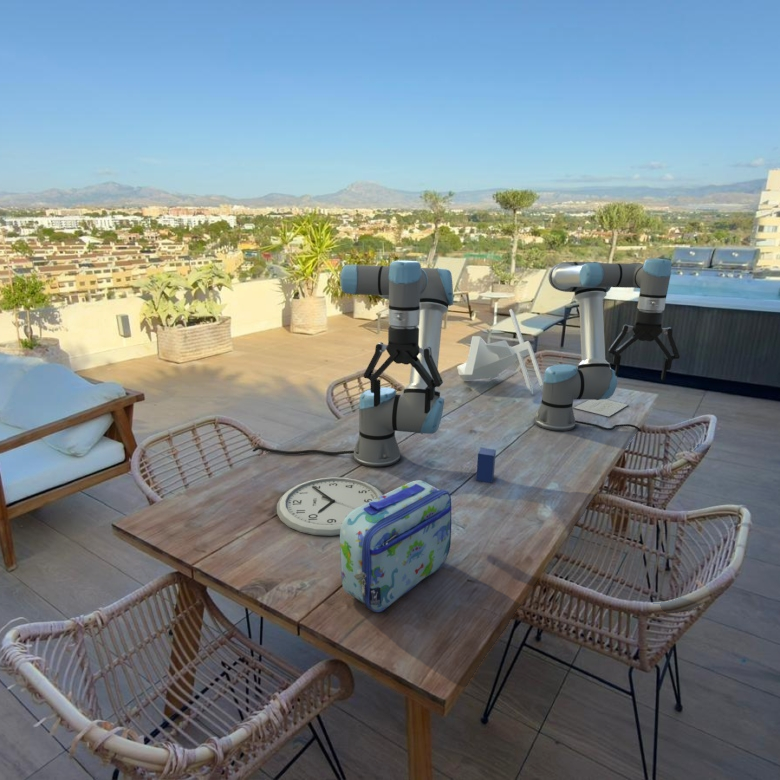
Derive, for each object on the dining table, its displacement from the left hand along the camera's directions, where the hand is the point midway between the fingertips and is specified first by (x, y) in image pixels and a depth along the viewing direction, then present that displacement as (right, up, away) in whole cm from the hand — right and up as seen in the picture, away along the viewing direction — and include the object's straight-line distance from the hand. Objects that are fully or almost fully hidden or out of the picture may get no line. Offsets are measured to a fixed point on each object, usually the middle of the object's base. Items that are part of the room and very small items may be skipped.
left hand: (401, 408), depth 134 cm
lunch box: (-1, -37, -22) cm, 43 cm away
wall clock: (-19, -27, +9) cm, 34 cm away
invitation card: (+89, -3, +92) cm, 128 cm away
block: (+26, -22, +26) cm, 43 cm away
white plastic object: (+48, +6, +117) cm, 127 cm away
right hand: (+77, +9, +33) cm, 84 cm away
